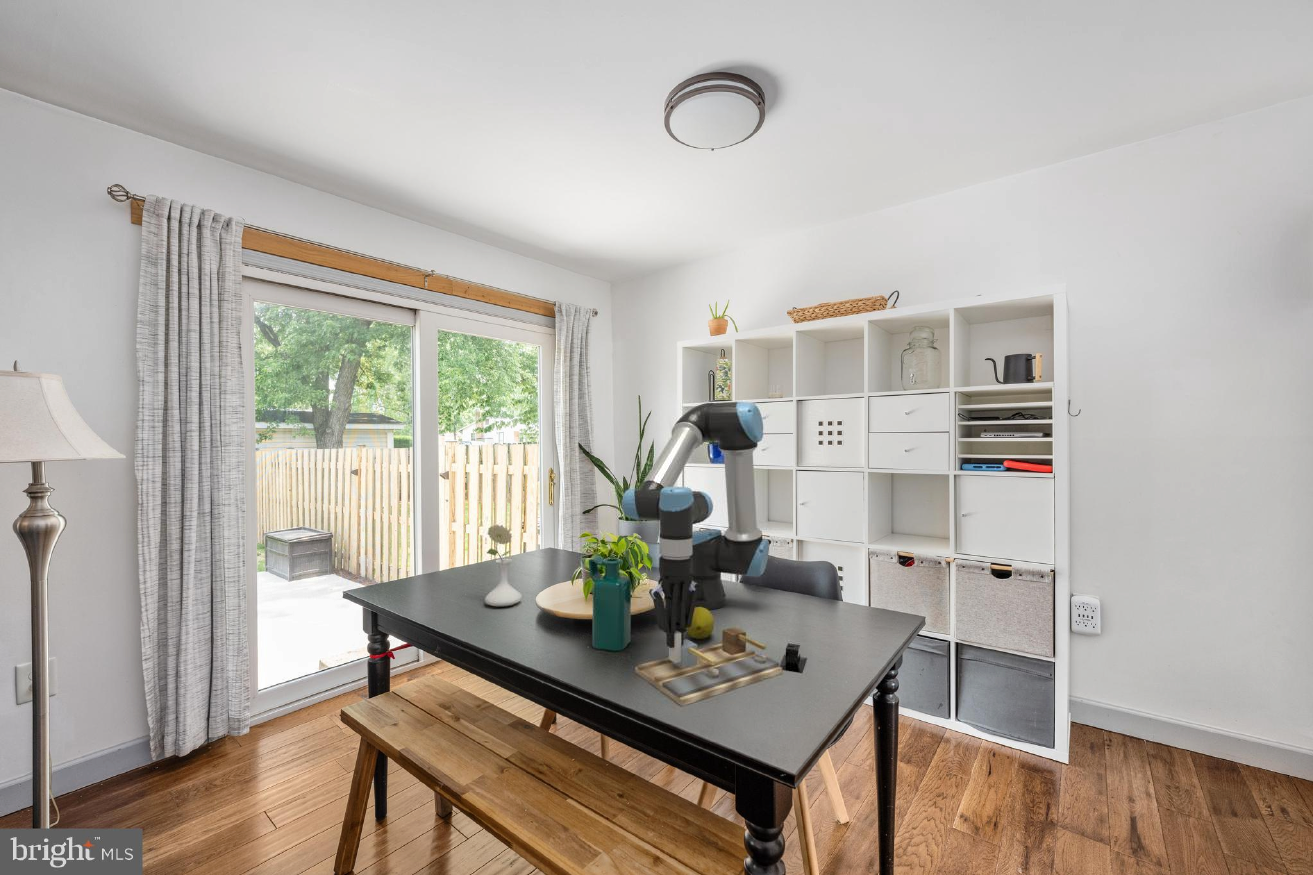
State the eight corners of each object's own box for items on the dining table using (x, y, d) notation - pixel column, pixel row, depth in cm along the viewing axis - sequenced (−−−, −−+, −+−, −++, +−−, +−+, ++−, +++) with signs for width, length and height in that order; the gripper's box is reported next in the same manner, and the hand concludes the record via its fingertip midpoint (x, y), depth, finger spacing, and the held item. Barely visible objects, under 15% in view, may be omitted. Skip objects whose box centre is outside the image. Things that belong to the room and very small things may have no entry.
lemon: (689, 629, 150) (689, 601, 150) (717, 633, 148) (717, 603, 148) (679, 644, 140) (679, 613, 140) (708, 647, 137) (709, 616, 137)
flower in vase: (529, 602, 174) (530, 524, 174) (501, 612, 164) (502, 529, 164) (501, 595, 180) (501, 520, 180) (473, 604, 171) (473, 525, 171)
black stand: (782, 654, 135) (782, 635, 135) (812, 658, 132) (812, 639, 132) (773, 674, 124) (773, 654, 124) (806, 679, 121) (806, 658, 121)
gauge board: (729, 647, 138) (730, 622, 138) (782, 673, 123) (782, 645, 123) (635, 672, 122) (635, 645, 122) (681, 706, 107) (682, 674, 107)
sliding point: (686, 659, 126) (686, 639, 126) (720, 679, 116) (721, 657, 116) (672, 663, 124) (672, 642, 124) (706, 684, 114) (706, 661, 114)
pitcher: (632, 640, 142) (633, 556, 142) (621, 652, 134) (622, 563, 134) (597, 636, 144) (598, 553, 144) (585, 648, 136) (585, 560, 136)
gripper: (689, 549, 129) (688, 648, 129) (642, 556, 122) (641, 660, 122) (708, 555, 123) (707, 659, 123) (660, 562, 116) (659, 673, 116)
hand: (674, 660), depth 122 cm, fingers closed
